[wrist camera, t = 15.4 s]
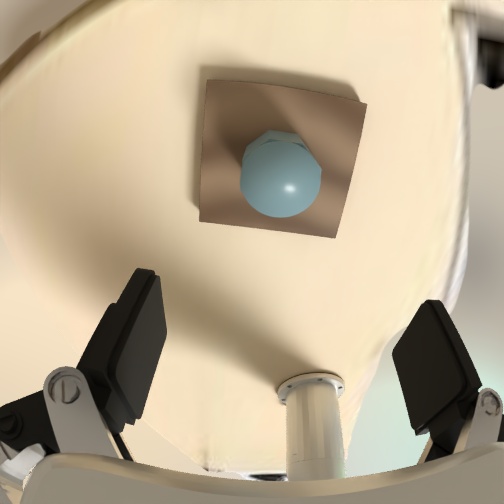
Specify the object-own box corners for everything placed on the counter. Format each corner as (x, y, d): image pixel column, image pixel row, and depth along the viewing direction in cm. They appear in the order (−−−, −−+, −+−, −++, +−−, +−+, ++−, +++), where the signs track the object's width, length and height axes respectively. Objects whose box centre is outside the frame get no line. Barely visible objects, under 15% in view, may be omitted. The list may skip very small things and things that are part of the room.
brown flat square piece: (332, 231, 30) (335, 238, 29) (202, 215, 30) (199, 221, 29) (362, 102, 22) (367, 103, 21) (210, 80, 22) (207, 79, 21)
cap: (305, 198, 27) (312, 222, 22) (242, 189, 27) (236, 212, 22) (316, 137, 23) (327, 149, 19) (248, 127, 23) (244, 137, 19)
